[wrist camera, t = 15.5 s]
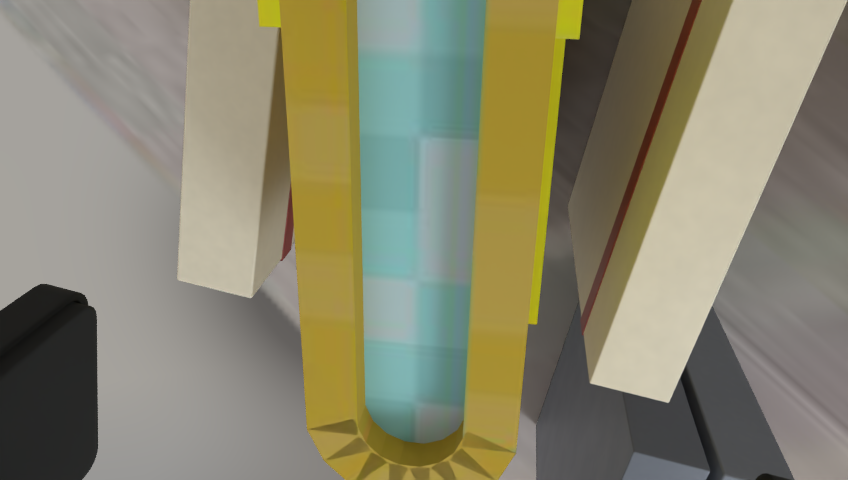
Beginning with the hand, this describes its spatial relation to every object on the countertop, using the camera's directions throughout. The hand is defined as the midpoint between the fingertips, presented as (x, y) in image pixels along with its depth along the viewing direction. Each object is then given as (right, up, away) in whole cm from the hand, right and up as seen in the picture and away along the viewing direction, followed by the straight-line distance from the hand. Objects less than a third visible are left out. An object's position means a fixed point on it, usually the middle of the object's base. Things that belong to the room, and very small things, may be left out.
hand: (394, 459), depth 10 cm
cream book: (+12, +11, +29) cm, 33 cm away
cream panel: (-4, +15, +29) cm, 33 cm away
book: (+4, +14, +29) cm, 32 cm away
